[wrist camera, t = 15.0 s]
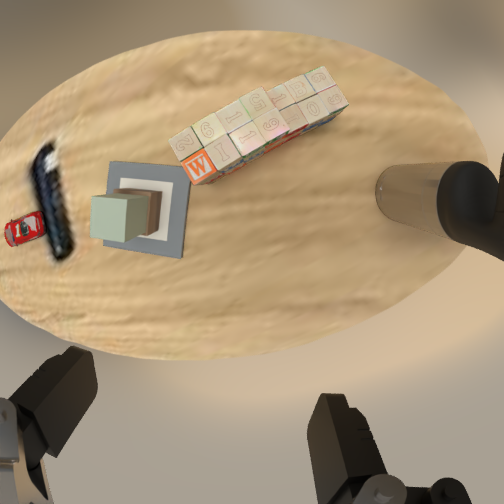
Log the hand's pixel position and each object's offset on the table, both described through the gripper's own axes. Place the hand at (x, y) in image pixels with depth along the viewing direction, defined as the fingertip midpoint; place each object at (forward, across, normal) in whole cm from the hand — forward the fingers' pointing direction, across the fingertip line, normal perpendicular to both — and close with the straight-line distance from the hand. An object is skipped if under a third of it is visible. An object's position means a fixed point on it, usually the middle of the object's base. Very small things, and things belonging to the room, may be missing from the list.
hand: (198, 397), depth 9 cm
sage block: (+30, +16, -1) cm, 34 cm away
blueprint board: (+36, +16, -1) cm, 39 cm away
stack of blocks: (+36, 0, -15) cm, 39 cm away
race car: (+37, +44, +6) cm, 57 cm away
